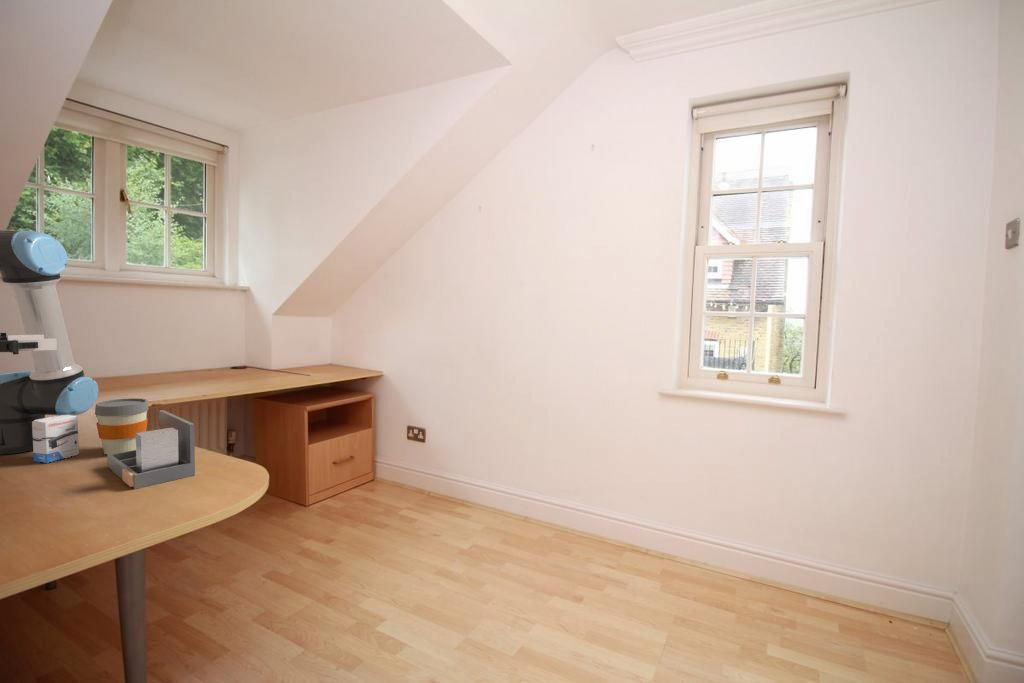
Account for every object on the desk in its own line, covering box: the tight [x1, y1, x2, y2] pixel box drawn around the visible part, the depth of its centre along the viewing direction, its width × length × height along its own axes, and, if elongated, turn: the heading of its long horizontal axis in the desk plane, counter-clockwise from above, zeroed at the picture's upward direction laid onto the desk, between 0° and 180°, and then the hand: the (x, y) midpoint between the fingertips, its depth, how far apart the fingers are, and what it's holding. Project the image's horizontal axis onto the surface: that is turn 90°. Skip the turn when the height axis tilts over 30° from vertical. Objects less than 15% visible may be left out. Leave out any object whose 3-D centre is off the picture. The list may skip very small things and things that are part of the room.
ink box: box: [32, 414, 80, 464], centre depth 136 cm, size 8×5×12 cm, turn 168°
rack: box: [106, 409, 196, 490], centre depth 129 cm, size 23×14×14 cm, turn 53°
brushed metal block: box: [136, 428, 179, 474], centre depth 124 cm, size 4×8×12 cm, turn 143°
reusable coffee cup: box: [94, 397, 149, 456], centre depth 144 cm, size 13×13×15 cm
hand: (50, 342), depth 120 cm, fingers open, 13 cm apart
